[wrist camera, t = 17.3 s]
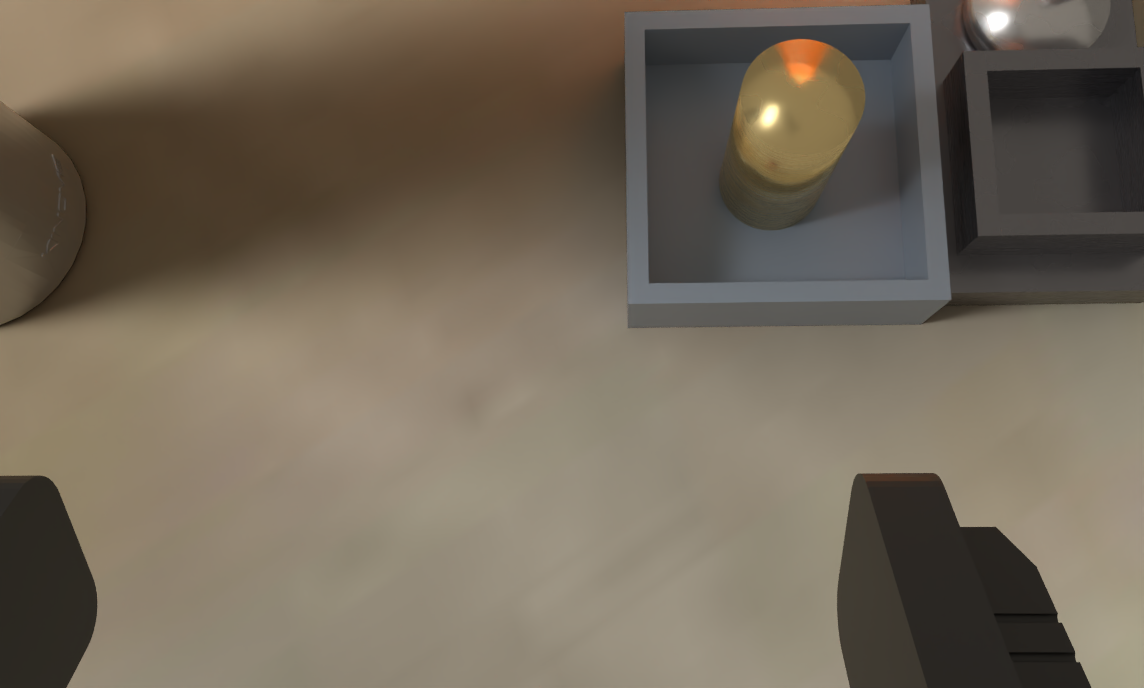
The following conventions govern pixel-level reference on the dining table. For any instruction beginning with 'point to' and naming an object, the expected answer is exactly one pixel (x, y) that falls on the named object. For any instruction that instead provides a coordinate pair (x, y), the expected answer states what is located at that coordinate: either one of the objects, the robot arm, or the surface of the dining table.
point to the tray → (845, 207)
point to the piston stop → (789, 132)
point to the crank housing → (1041, 149)
